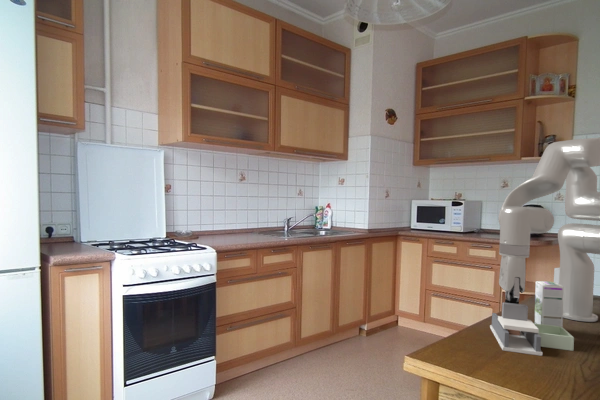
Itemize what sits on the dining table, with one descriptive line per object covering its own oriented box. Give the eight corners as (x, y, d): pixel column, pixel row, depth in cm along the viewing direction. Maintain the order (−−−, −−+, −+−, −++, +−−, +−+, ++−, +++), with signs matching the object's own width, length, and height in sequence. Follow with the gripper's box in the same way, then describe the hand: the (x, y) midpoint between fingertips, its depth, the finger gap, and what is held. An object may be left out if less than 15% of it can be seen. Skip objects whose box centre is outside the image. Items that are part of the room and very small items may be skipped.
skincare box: (563, 299, 151) (564, 269, 151) (552, 297, 155) (553, 267, 155) (572, 298, 153) (574, 269, 153) (562, 295, 157) (563, 267, 157)
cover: (497, 319, 108) (498, 301, 108) (529, 323, 105) (530, 305, 105) (503, 328, 100) (504, 309, 100) (538, 333, 98) (539, 313, 98)
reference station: (490, 327, 116) (490, 312, 115) (523, 331, 113) (524, 316, 113) (502, 350, 98) (503, 332, 98) (542, 355, 96) (543, 337, 96)
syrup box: (563, 335, 110) (565, 286, 110) (540, 333, 112) (542, 284, 111) (554, 329, 116) (556, 281, 116) (532, 327, 117) (534, 280, 117)
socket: (526, 334, 111) (526, 322, 111) (561, 338, 108) (561, 326, 108) (535, 345, 102) (535, 332, 102) (573, 350, 100) (574, 337, 100)
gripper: (494, 246, 117) (492, 305, 117) (505, 253, 103) (502, 320, 103) (522, 248, 115) (519, 308, 115) (536, 255, 100) (533, 324, 101)
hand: (511, 314), depth 109 cm, fingers closed
